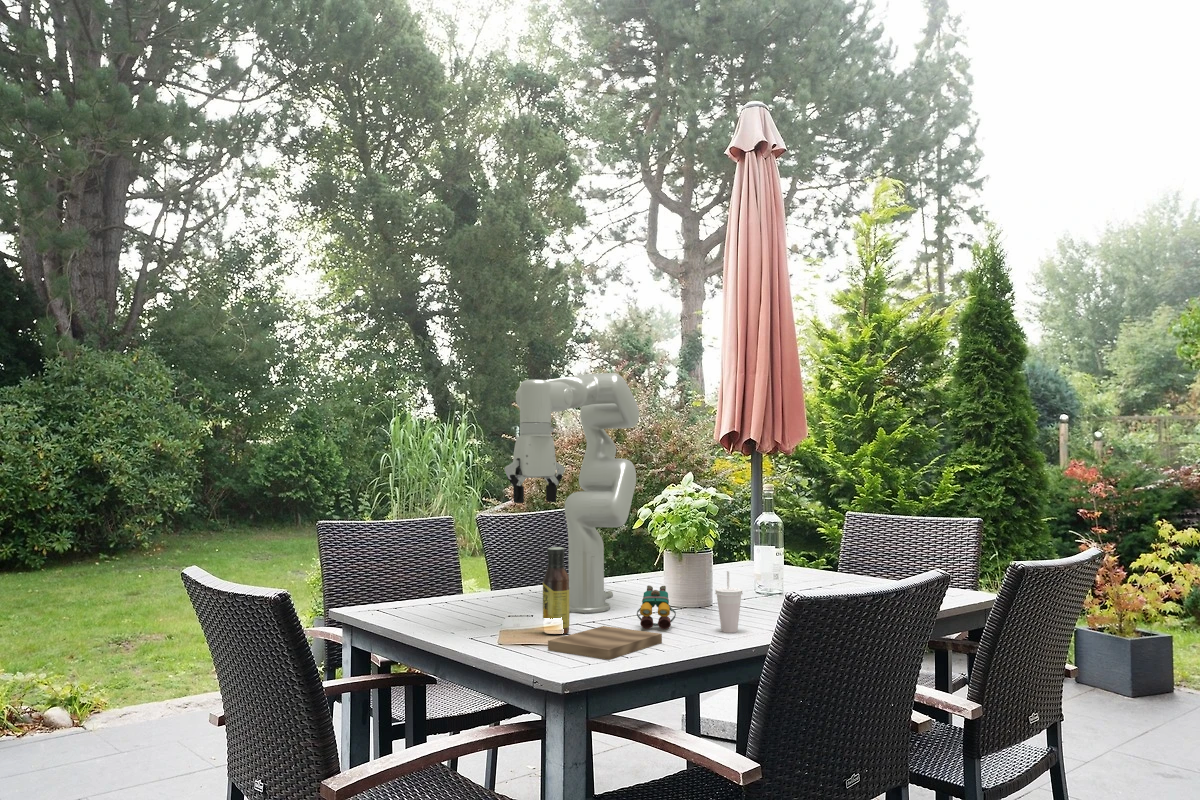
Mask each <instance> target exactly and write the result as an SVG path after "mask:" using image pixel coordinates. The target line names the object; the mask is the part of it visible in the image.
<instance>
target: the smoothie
mask: <svg viewBox="0 0 1200 800" xmlns="http://www.w3.org/2000/svg"><path fill="white" fill-rule="evenodd" d="M714 594H715V595H716V601H717V608H718V613H719V615H718V616H719V621H720V628H721V629H720V630H721V632H722V633H724V634H725V633H728V634H733V633H735V634H736V633H738V631H739V630H738V629H739V621H740V610H741V609H740V608H741V602H742V601H741V600H742V595H743V594H744V593H743V589H741V588H737V587H730V571H729V570H728V571H726V587H718V588H715V592H714Z"/></svg>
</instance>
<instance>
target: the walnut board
mask: <svg viewBox="0 0 1200 800" xmlns="http://www.w3.org/2000/svg"><path fill="white" fill-rule="evenodd" d="M662 643H663V633H661V632H660V633H659V632H652V631H644V630H639V629H638V630H637V629H629V628H622V627H620V628H619V627H614V626H606V625H602V626H597V627H594V628H591V629H587V630H583V631H580V632H575V633H572V634H568V635H563V636H560V637H556V638H553V639H550V640H548V641H547V650H548V651H552V652H558V653H563V654H571V655H577V656H583V657H588V658H595V659H600V660H601V659H602V660H607V661H609V660H613V659H615V658H616V659H617V658H619V657H621V656H625V655H628V654H631V653H635V652H638V651H641V650H643V649H644V650H645V649H647V648H650V647H653V646H656V645H660V644H662Z"/></svg>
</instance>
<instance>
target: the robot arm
mask: <svg viewBox="0 0 1200 800" xmlns="http://www.w3.org/2000/svg"><path fill="white" fill-rule="evenodd" d="M515 402H516V405H517V407H518V408H519V436H517V437H516V439H515V443H514V450H513V460H512V462H511V463H509V464H508V465H506V466H504V469H503V470H504V472H505V474H506V476H507V477H506V478H507V480H508V481H509V482H510V484H511V486H513V487H512V490H513V493H512V497H513V503H514V504H523V503H524V501H525V486H524V485H523V483H524V482H525V481H526V479H530V478H531V479H532V478H534V479H538V478H539V479H544V480H545V481H546V482H547V484H546V486H545V501H546V502H548V503H556V502H557V486H558V485H559V483H560V481H561V480H562V478H563V475H564V473H565V470H566V469H565V466H563V465H562V464H560V463H559V462H557V460H556V458H557V457H556V450H555V449H556V447H555V441H554V437H553V436H552V433H554V431H555V427H554V426H552V413H554V412H555V413H557V412H558V413H559V412H564V411H568V410H569V409H577V408H580V411H579V417H580V421H581V422H580V423H581V426H582V430H583V434H584V436H585V440H586V446H585V447H586V449H585V452H584V456H583V459H582V464H581V466H580V467H581V468H580V471H579V473H578V474H579V476H578V484H579V487H580V488H581V489H582V491H576V492H572V493H570V494H569V495H568V496H567V497H566V499H565V502H564V515H565V519H566V526H567V535H568V536H567V537H568V540H567V541H568V542H567V543H568V576H569V612H570V613H577V614H578V613H579V614H580V613H581V614H582V613H585V614H588V613H589V614H590V613H601V612H606V611H609V610H610V609H611V605H610V603H608V602H607V600H608V599H611V598H613V597H614V593H613V591H611V590H608V591H606V590H605V571H604V570H605V567H604V566H605V565H604V564H605V555H604V550H605V549H604V548H605V547H604V546H605V545H604V541H603V538H602V536H601V535H600V533H599V532H598V530H597V528H620V527H623V526H624V525H625V524H626V523H627V520H628V517H629V514H630V510H631V506H632V502H633V501H632V500H633V497H634V494H635V493H634V492H635V488H636V483H637V472H636V467H635V465H634V463H633V462H632V461H631V460H629V459H627V458H616V454H617V446H616V444H615V442H614V440H613V439H612V438H611V436H610V435H609V434H608V433H607V432H606V430H611V429H612V430H614V429H615V430H616V429H618V430H619V429H630V428H634V427H635V426H636V425H637V424H638V423H639V419H640V410H639V408H640V407H639V405H638V402H637V401H636V399H635V397H634V395H633V393H632V391H631V388H630V386H629V385H628V383H627V381H626V380H625V379H624V378H623V377H622V376H621V375H620V374H619V373H616V372H603V373H599V372H598V373H585V374H578V375H571V376H564V377H558V378H552V379H526V380H525V379H524V380H523V381H522V382H521V383H520V385H519V387H518V388H517V391H516V394H515Z"/></svg>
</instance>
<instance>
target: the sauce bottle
mask: <svg viewBox="0 0 1200 800" xmlns="http://www.w3.org/2000/svg"><path fill="white" fill-rule="evenodd" d="M565 553H566V552H565V548H564V547H562V546H553V547H548V548H547V554H546V555H547V568H546V571H545V574H544V577H543V580H542V619H543V618H550V619H551V618H552V619H553V618H561V617H562V620H563V629H564V635H566V634H568V633H569V632H570V613H571V612H569V573H568V572H567V571H566V569H565Z"/></svg>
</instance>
